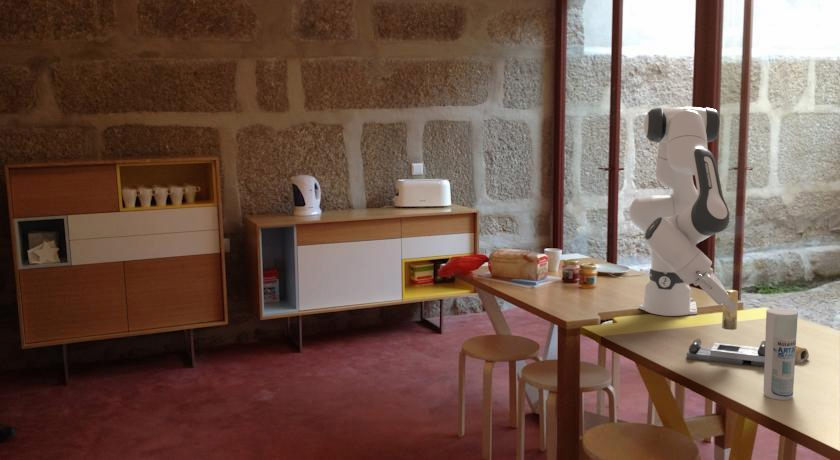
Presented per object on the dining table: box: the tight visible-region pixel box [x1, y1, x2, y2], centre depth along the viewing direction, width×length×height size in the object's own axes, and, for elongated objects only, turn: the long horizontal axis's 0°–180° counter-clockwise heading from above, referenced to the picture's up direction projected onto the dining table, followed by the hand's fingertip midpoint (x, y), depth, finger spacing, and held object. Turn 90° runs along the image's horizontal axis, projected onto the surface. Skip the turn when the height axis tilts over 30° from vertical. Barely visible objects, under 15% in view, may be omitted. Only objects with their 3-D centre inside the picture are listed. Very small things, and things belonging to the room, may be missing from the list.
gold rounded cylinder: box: [721, 289, 739, 331], centre depth 207 cm, size 4×4×10 cm
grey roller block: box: [686, 338, 765, 368], centre depth 209 cm, size 20×8×5 cm, turn 61°
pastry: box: [795, 345, 810, 364], centre depth 209 cm, size 9×7×4 cm
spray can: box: [763, 307, 799, 401], centre depth 180 cm, size 6×6×20 cm
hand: (732, 306), depth 207 cm, fingers closed on gold rounded cylinder, 4 cm apart
